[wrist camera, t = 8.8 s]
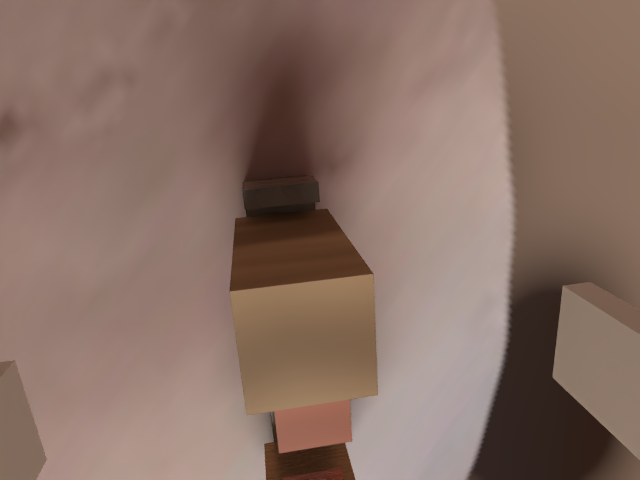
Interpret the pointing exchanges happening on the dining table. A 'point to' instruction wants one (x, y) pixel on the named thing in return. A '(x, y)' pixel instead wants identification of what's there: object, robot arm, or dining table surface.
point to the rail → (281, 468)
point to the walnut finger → (302, 325)
